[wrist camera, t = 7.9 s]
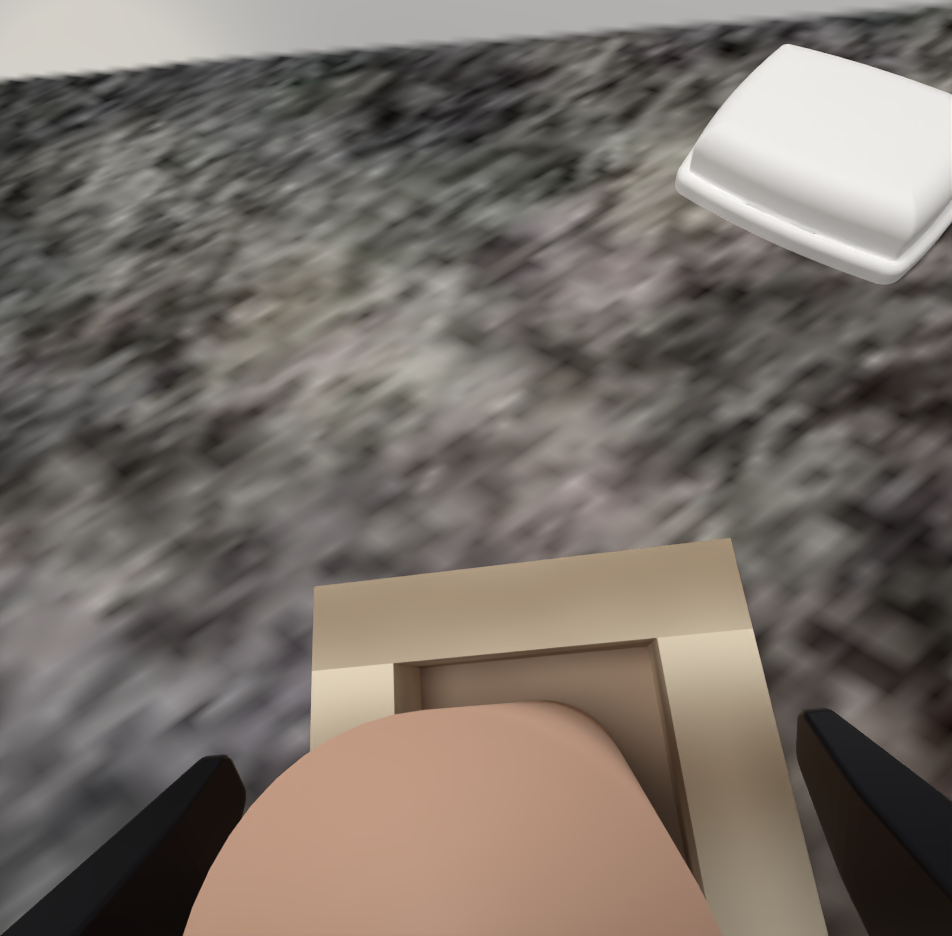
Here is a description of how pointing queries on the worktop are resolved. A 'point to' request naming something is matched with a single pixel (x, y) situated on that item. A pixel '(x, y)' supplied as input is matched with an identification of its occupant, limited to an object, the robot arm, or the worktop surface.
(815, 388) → the worktop surface
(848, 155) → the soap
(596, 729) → the dowel
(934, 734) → the worktop surface
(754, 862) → the socket block
